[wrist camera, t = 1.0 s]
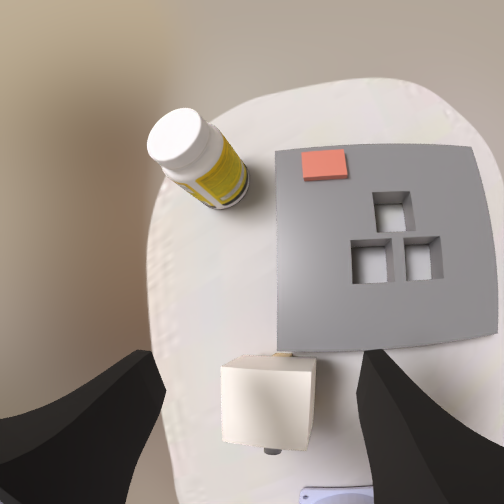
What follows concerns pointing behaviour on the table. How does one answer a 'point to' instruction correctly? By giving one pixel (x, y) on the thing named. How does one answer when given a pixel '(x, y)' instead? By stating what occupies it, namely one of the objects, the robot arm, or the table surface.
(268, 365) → the plug
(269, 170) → the table surface
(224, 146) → the supplement bottle
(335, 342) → the socket
